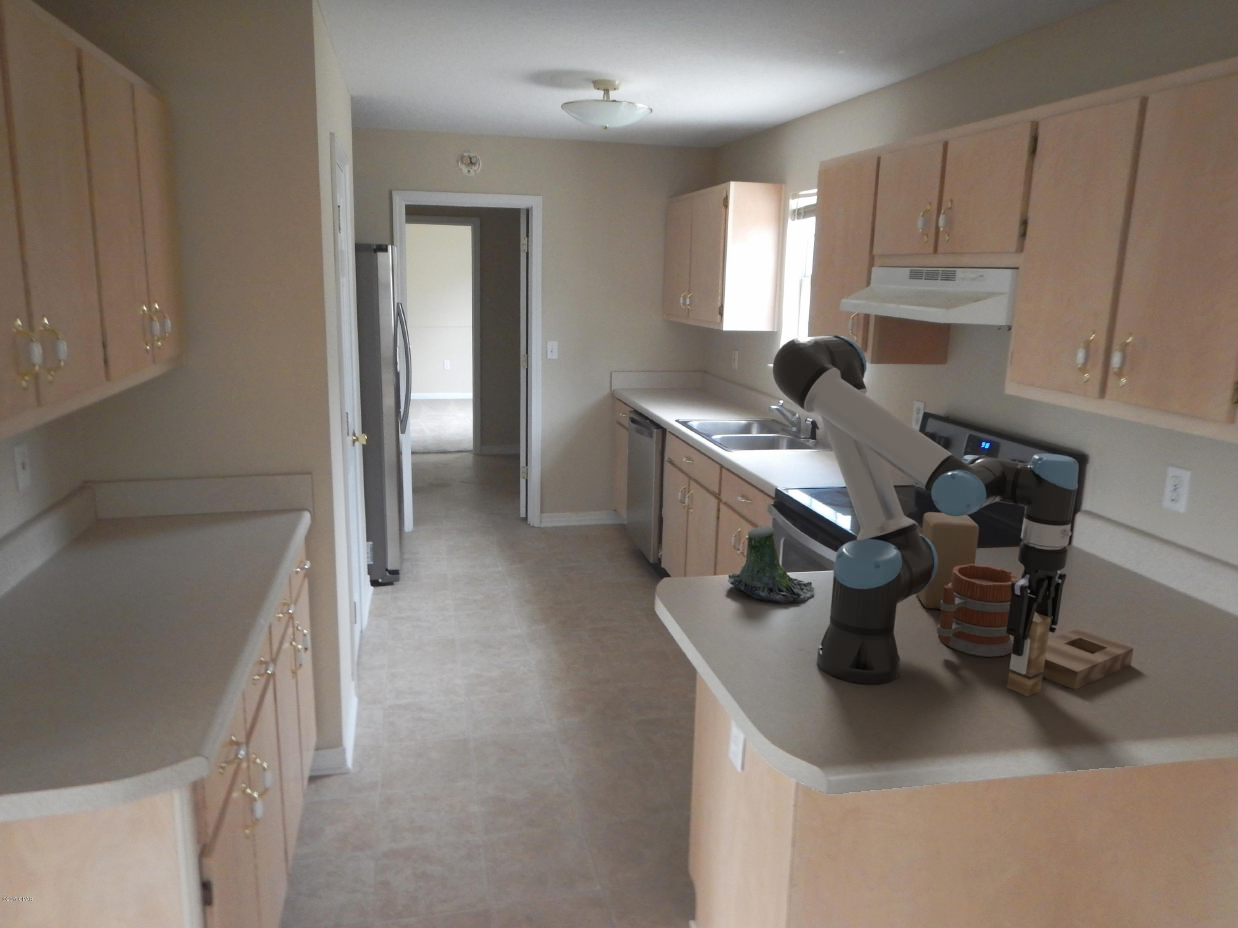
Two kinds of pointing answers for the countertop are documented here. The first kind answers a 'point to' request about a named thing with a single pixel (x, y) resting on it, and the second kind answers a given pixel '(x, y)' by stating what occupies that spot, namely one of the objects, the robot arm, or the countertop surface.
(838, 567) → the robot arm
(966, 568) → the mug
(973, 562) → the wooden block
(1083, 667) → the board
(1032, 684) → the peg
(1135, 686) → the countertop surface
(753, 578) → the tree stump
